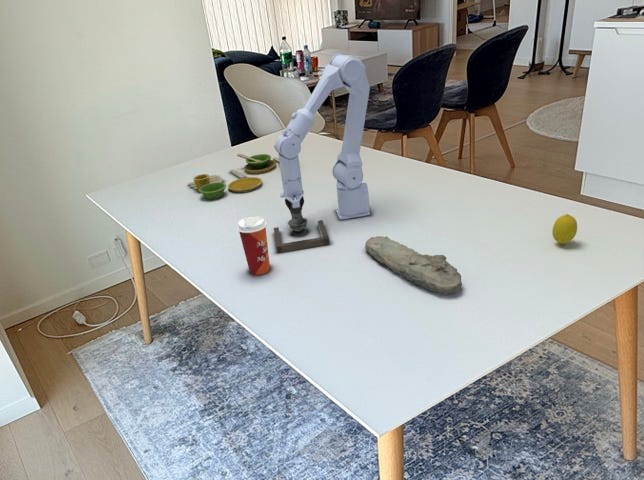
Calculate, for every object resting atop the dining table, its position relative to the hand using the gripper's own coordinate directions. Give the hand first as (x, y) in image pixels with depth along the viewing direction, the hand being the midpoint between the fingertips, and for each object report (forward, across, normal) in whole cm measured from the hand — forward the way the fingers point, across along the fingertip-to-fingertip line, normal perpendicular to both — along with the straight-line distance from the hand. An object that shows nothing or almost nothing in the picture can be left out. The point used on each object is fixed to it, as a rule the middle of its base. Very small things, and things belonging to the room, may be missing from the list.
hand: (297, 221), depth 173 cm
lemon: (+2, +37, +64) cm, 74 cm away
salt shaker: (+2, +4, 0) cm, 5 cm away
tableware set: (+2, -52, -15) cm, 54 cm away
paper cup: (+2, +24, -13) cm, 27 cm away
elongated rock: (+2, +37, +25) cm, 45 cm away
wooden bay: (+2, +8, 0) cm, 8 cm away
